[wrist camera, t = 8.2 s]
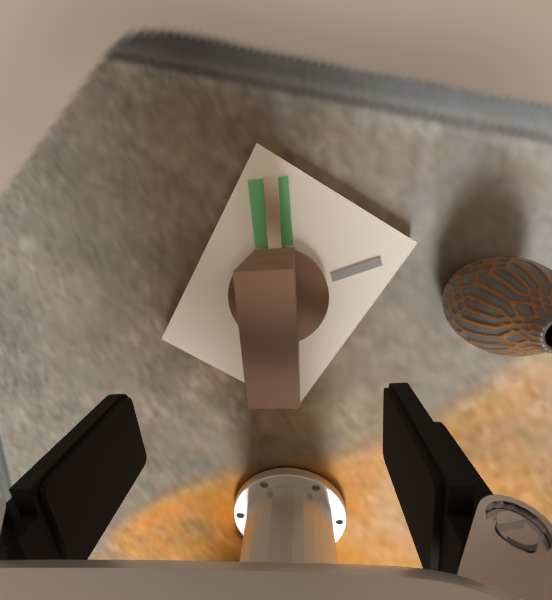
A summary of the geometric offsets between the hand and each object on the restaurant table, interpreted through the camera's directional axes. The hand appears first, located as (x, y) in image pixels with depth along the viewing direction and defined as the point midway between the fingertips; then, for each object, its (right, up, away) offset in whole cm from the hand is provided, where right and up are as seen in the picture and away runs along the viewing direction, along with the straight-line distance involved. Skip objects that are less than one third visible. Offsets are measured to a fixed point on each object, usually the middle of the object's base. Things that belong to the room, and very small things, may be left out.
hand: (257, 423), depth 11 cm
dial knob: (+1, +7, +12) cm, 14 cm away
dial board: (+1, +5, +15) cm, 16 cm away
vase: (+17, +5, +14) cm, 23 cm away
